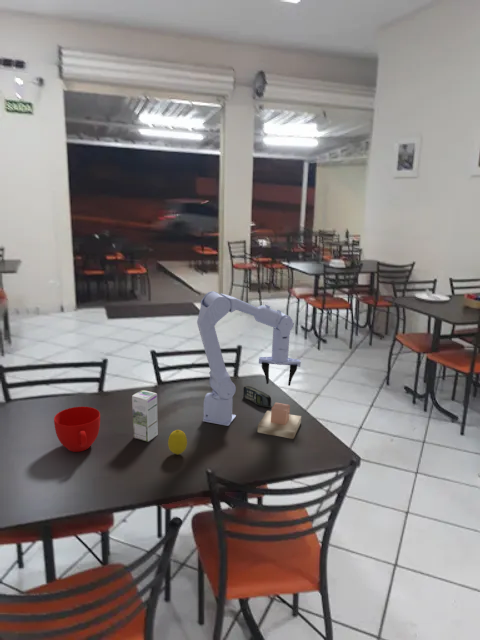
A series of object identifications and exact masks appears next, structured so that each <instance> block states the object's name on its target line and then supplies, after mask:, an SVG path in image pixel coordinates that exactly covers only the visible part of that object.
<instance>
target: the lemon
mask: <svg viewBox="0 0 480 640" xmlns="http://www.w3.org/2000/svg"><path fill="white" fill-rule="evenodd" d="M167 445H168V446H167V447H168V449H169V452H171V453H173V454H175V455H181V454H183V453H184V452H185V451H186V449H187V446H188V438H187V435H186V433H185V432H184V431H182V430H181V429H176V430H173V431H172V432H171V433H170V434H169V436H168V440H167Z"/></svg>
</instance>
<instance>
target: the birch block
mask: <svg viewBox="0 0 480 640" xmlns="http://www.w3.org/2000/svg"><path fill="white" fill-rule="evenodd" d="M301 423H302V415H297V414H291V413H290V414H289V420H288V422H287V423H286V425H283V424H277V423H272V422H271V410H266V412H265V413H264V415H263V417H262V418H261V420H259V423H258V424H257V433H259V434H265V435H269V436H275V437H276V436H277V437H282V438H287V439H290V440H294V439H295V437H296V434H297V433H298V431H299V428H300V426H301Z"/></svg>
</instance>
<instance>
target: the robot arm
mask: <svg viewBox="0 0 480 640" xmlns="http://www.w3.org/2000/svg"><path fill="white" fill-rule="evenodd" d="M199 304H200V308H199V312H198V317H197V322H196V323H197V328H198V331H199V334H200V338H201V342H202V345H203V349H204V352H205V356H206V359H207V363H208V366H209V373H208V374H209V381H208V382H209V386H210V388H211V389H212V391H211V392H207V393H205V396H204V399H203V419H202V422H206V423H211V424H216V425H220V426H226V427H229V426H230V425H231V424H232V422H233V421H234V420H235V418H236V416H237V415H236V414H233V402H234V401H233V399H234V397H233V396H234V395H235V394H236V390H237V389H236V388H237V387H236V385H235V383H234V382H233V381H232V380H231V376H230V375H229V372H228V371H227V367H226V365H225V361H224V357H223V353H222V350H221V347H220V342H219V339H218V338H219V337H218V335H217V331H216V327H215V326H216V325H217V323H218V322H219V321H221V320H222V319H223V318H224V317H226V315H227V314H228V313H233V312H235V311H239V312H242V313H244V314H247V315H250V316H253V318H254V319H255V320H254V321H256V322H258V323H261V324H263V325H266V326H268V327H271V328H272V342H271V343H272V347H271V356H259V357H258V364H259V365H261V370H262V372H263V373H264V377H265V382H266V385H268V384H269V382H270V378H269V377H270V375H269V374H270V373H269V372H270V365H278V366H289V374H288V376H289V377H288V384H287V385H288V386H289V387H290V386H291V383H292V380H293V377H294V375H295V374H296V372H297V370H298V367H301V363H302V361H301V359H297V358H291V357H289V349H290V347H289V346H290V335H291V330H292V329H293V327H294V322H293V319H292V317H291V316H289V315H288V314H285V313H284V312H282V311H281V310H279V309H277V310H276V309H273V308H271V306H270V305H269V304H264V305H263V304H261V305H258V306H255V305H253V304H251V303H248V302H246V301H243V300H241V299H239V298H237V297H235V296H232V295H229V294H225V293H222V292H221V293H218V292H217V291H213V290H212V291H208V292H207V293H206V294H205V295H204V296H203V297H202V299H201V300H200V303H199Z"/></svg>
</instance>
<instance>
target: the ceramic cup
mask: <svg viewBox="0 0 480 640" xmlns="http://www.w3.org/2000/svg"><path fill="white" fill-rule="evenodd" d="M53 424H54V430H55V435H56V437H57V439H58V441H59V442H60V443H61V445H62V446H63V447H65V448H66V449H67V450H68V451H69V452H72V453H79V452H83V451H86V450H88V449H89V448H91V446H92V445H93V444H94V443H95V441H96V440H97V438H98V435H99V431H100V427H101V412H100V411H99V410H98V409H97V408H94V407H91V406H74V407H69V408H66V409H63V410H61V411H59V412H57V413H56V414H55V415H54V418H53Z"/></svg>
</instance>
